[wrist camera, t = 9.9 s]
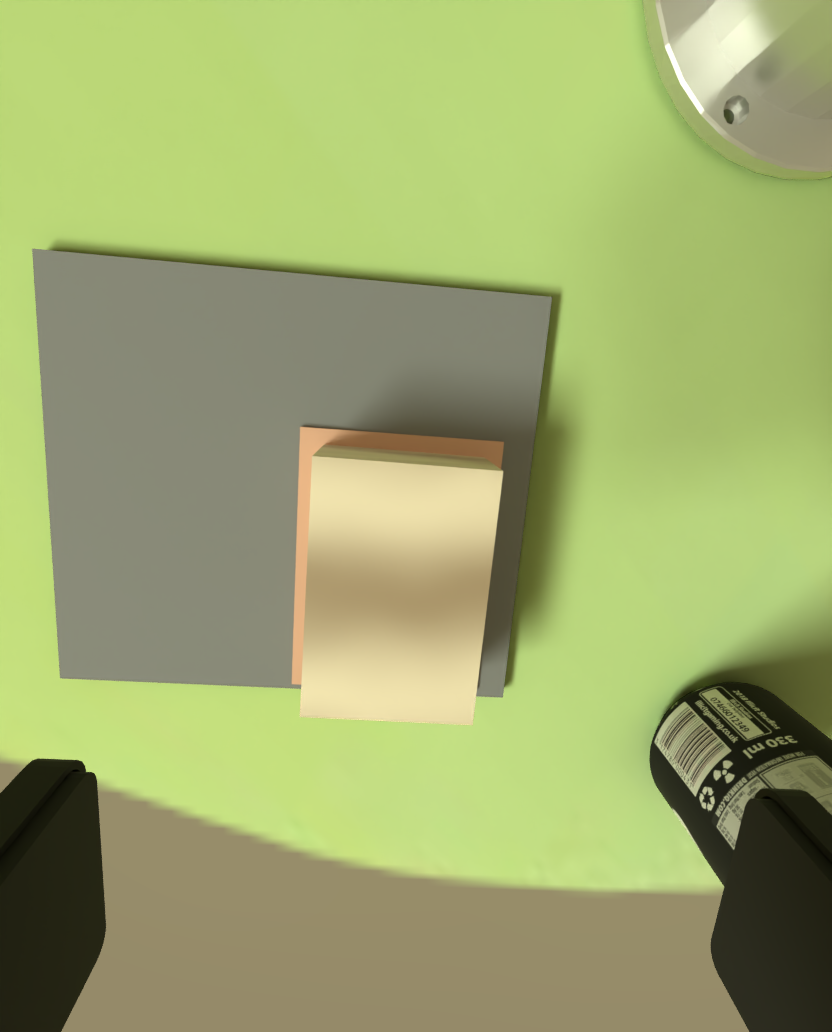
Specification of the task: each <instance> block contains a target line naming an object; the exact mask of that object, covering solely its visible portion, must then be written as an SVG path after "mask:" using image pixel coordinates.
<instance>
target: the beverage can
mask: <svg viewBox="0 0 832 1032" xmlns="http://www.w3.org/2000/svg"><path fill="white" fill-rule="evenodd" d="M650 768H651V773H652V776H653V779H654V782H655V784H656V786H657V788H658V789H659V791H660V792H661V794H662V795H663V797H664V798H665V800H666V801H667V803H668V804H669V806H670V807H671V808H672V810H673V811H674V813H675V814H676V816H677V817H678V819H679V820H680V822H681V823H682V825H683V826H684V828H685V829H686V831H687V832H688V834H689V835H690V837H691V838H692V839H693V841H694V842H695V844H696V845H697V847H698V848H699V850H700V851H701V853H702V854H703V856H704V857H705V859H706V860H707V862H708V863H709V865H710V866H711V868H712V869H713V871H714V872H715V873H716V875H717V876H718V878H719V879H720V881H721V882H722V884H723V885H724V887H725V883H726V879H727V875H728V871H729V867H730V863H731V860H732V856H733V852H734V848H735V844H736V840H737V836H738V832H739V828H740V824H741V820H742V816H743V812H744V808H745V805H746V803H747V801H749V800H750V799H754V797H755V795H756V793H757V792H758V791H759V790H760V789H764V788H774V789H799V790H803V791H806V792H808V793H809V794H810V795H812V796H813V797H814V798H815V799H816V800H817V801H818V802H819V803H820V804H821V805H822V806H823V807H824V808H825V809H826V810H827V811H828V812H829V813H830V814H831V815H832V740H831V739H829V738H828V737H827V736H826V735H824V734H823V733H822V732H821V731H819V730H818V729H817V728H816V727H814V726H813V725H812V724H811V723H809V722H808V721H807V720H805V719H804V718H803V717H802V716H800V715H799V714H798V713H797V712H795V711H794V710H793V709H792V708H790V707H789V706H788V705H787V704H785V703H784V702H783V701H782V700H780V699H779V698H778V697H776V696H775V695H774V694H772V693H771V692H769V691H767V690H765V689H763V688H760V687H758V686H755V685H750V684H746V683H733V682H731V683H721V684H716V685H711V686H708V687H704V688H701V689H698V690H696V691H693V692H691V693H689V694H687V695H686V696H684V697H683V698H681V699H680V700H679V701H677V702H676V703H675V704H674V705H673V706H672V707H671V708H670V709H669V710H668V711H667V713H666V714H665V715H664V717H663V718H662V720H661V722H660V724H659V726H658V728H657V730H656V732H655V734H654V737H653V740H652V744H651V748H650Z"/></svg>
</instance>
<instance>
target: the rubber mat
mask: <svg viewBox="0 0 832 1032" xmlns="http://www.w3.org/2000/svg"><path fill="white" fill-rule="evenodd" d="M32 252H33V267H34V283H35V298H36V313H37V329H38V344H39V360H40V375H41V390H42V406H43V421H44V437H45V452H46V467H47V483H48V498H49V514H50V529H51V545H52V560H53V575H54V591H55V606H56V622H57V637H58V652H59V668H60V678H66V679H89V680H112V681H135V682H158V683H181V684H204V685H227V686H250V687H274V688H297V689H301V682H302V661H303V639H304V618H305V596H306V575H307V554H308V532H309V511H310V490H311V468H312V456H313V455H314V454H315V453H316V452H317V451H318V450H319V449H320V448H321V447H322V446H323V445H324V444H327V445H339V446H351V447H364V448H376V449H388V450H401V451H413V452H425V453H438V454H450V455H462V456H475V457H484V458H486V459H487V460H489V461H490V462H491V463H493V464H494V465H496V466H497V467H498V468H500V469H501V470H502V471H503V479H502V487H501V495H500V503H499V511H498V520H497V528H496V536H495V544H494V553H493V561H492V569H491V577H490V586H489V594H488V602H487V610H486V619H485V627H484V635H483V643H482V652H481V660H480V668H479V676H478V685H477V693H476V696H482V697H503V691H504V683H505V675H506V667H507V659H508V651H509V643H510V635H511V626H512V618H513V610H514V602H515V594H516V586H517V578H518V570H519V562H520V554H521V545H522V537H523V529H524V521H525V513H526V505H527V497H528V489H529V481H530V473H531V464H532V456H533V448H534V440H535V432H536V424H537V416H538V408H539V400H540V391H541V383H542V375H543V367H544V359H545V351H546V343H547V335H548V327H549V319H550V310H551V302H552V297H547V296H536V295H526V294H515V293H504V292H493V291H482V290H472V289H461V288H450V287H439V286H429V285H418V284H407V283H396V282H386V281H375V280H364V279H353V278H342V277H332V276H321V275H310V274H299V273H289V272H278V271H267V270H256V269H245V268H235V267H224V266H213V265H202V264H192V263H181V262H170V261H159V260H149V259H138V258H127V257H116V256H105V255H95V254H84V253H73V252H62V251H52V250H41V249H32Z"/></svg>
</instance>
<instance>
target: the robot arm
mask: <svg viewBox="0 0 832 1032" xmlns="http://www.w3.org/2000/svg"><path fill="white" fill-rule="evenodd" d="M643 7H644V14H645V22H646V29H647V36H648V42H649V45H650V48H651V51H652V54H653V58H654V61H655V64H656V67H657V70H658V73H659V76H660V79H661V81H662V83H663V85H664V86H665V88H666V90H667V92H668V94H669V96H670V98H671V100H672V101H673V103H674V105H675V107H676V109H677V111H678V112H679V113H680V114H681V116H682V117H683V118H684V119H685V121H686V122H687V123H688V124H689V125H690V127H691V128H692V129H693V130H694V131H695V133H696V134H697V135H698V136H699V138H701V139H702V140H703V141H704V142H706V143H707V144H708V145H709V146H711V147H712V148H713V149H714V150H716V151H717V152H718V153H719V154H721V155H722V156H723V157H725V158H726V159H728V160H730V161H732V162H734V163H736V164H738V165H740V166H742V167H744V168H747V169H749V170H751V171H753V172H755V173H759V174H764V175H768V176H772V177H777V178H781V179H786V180H819V179H823V178H828V177H832V0H643ZM724 117H725V118H724ZM725 119H726V120H725ZM105 931H106V920H105V903H104V888H103V871H102V855H101V839H100V823H99V807H98V791H97V779H96V776H95V774H94V773H92V772H86V769H85V766H84V764H83V762H82V761H79V760H59V759H36V760H33V761H31V762H30V763H29V764H28V765H27V766H26V767H25V768H24V769H23V770H22V771H21V772H20V773H19V774H18V775H17V776H16V777H15V778H14V779H13V780H12V782H11V783H10V784H9V785H8V786H7V787H6V788H5V789H4V790H3V791H2V792H1V793H0V1032H61V1031H62V1029H63V1027H64V1024H65V1023H66V1021H67V1019H68V1017H69V1015H70V1013H71V1011H72V1009H73V1007H74V1005H75V1003H76V1001H77V999H78V997H79V995H80V993H81V991H82V989H83V987H84V985H85V983H86V981H87V979H88V977H89V975H90V973H91V971H92V969H93V967H94V965H95V963H96V961H97V958H98V957H99V954H100V952H101V949H102V946H103V942H104V937H105ZM711 954H712V959H713V962H714V965H715V968H716V970H717V973H718V975H719V977H720V978H721V980H722V982H723V984H724V986H725V987H726V989H727V991H728V993H729V995H730V997H731V999H732V1000H733V1002H734V1004H735V1006H736V1007H737V1010H738V1011H739V1013H740V1015H741V1017H742V1019H743V1020H744V1022H745V1024H746V1026H747V1028H748V1030H749V1032H832V815H831V814H830V813H829V812H828V811H827V810H826V809H825V808H824V807H823V806H822V805H821V804H820V803H819V802H818V801H817V800H816V799H815V798H814V797H813V796H812V795H810V794H809V793H808V792H806V791H803V790H799V789H774V788H764V789H760V790H759V791H758V792H757V793H756V795H755V797H754V799H750V800H749V801H747V803H746V805H745V808H744V812H743V816H742V820H741V824H740V828H739V832H738V836H737V840H736V844H735V848H734V852H733V856H732V860H731V863H730V867H729V871H728V875H727V879H726V883H725V887H724V891H723V895H722V899H721V903H720V907H719V911H718V915H717V919H716V923H715V927H714V931H713V934H712V938H711Z"/></svg>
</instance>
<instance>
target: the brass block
mask: <svg viewBox="0 0 832 1032" xmlns="http://www.w3.org/2000/svg"><path fill="white" fill-rule="evenodd" d="M502 479H503V471H502V470H501V469H500V468H498V467H497V466H496V465H494V464H493V463H491V462H490V461H489V460H487V459H486V458H484V457H475V456H462V455H450V454H438V453H425V452H413V451H401V450H388V449H376V448H364V447H351V446H339V445H327V444H324V445H323V446H322V447H321V448H320V449H319V450H318V451H317V452H316V453H315V454H314V455H313V456H312V468H311V490H310V511H309V532H308V554H307V575H306V596H305V618H304V639H303V661H302V682H301V703H300V717H312V718H333V719H354V720H375V721H396V722H417V723H438V724H459V725H473V717H474V709H475V701H476V693H477V685H478V676H479V668H480V660H481V652H482V643H483V635H484V627H485V619H486V610H487V602H488V594H489V586H490V577H491V569H492V561H493V553H494V544H495V536H496V528H497V520H498V511H499V503H500V495H501V487H502Z"/></svg>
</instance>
